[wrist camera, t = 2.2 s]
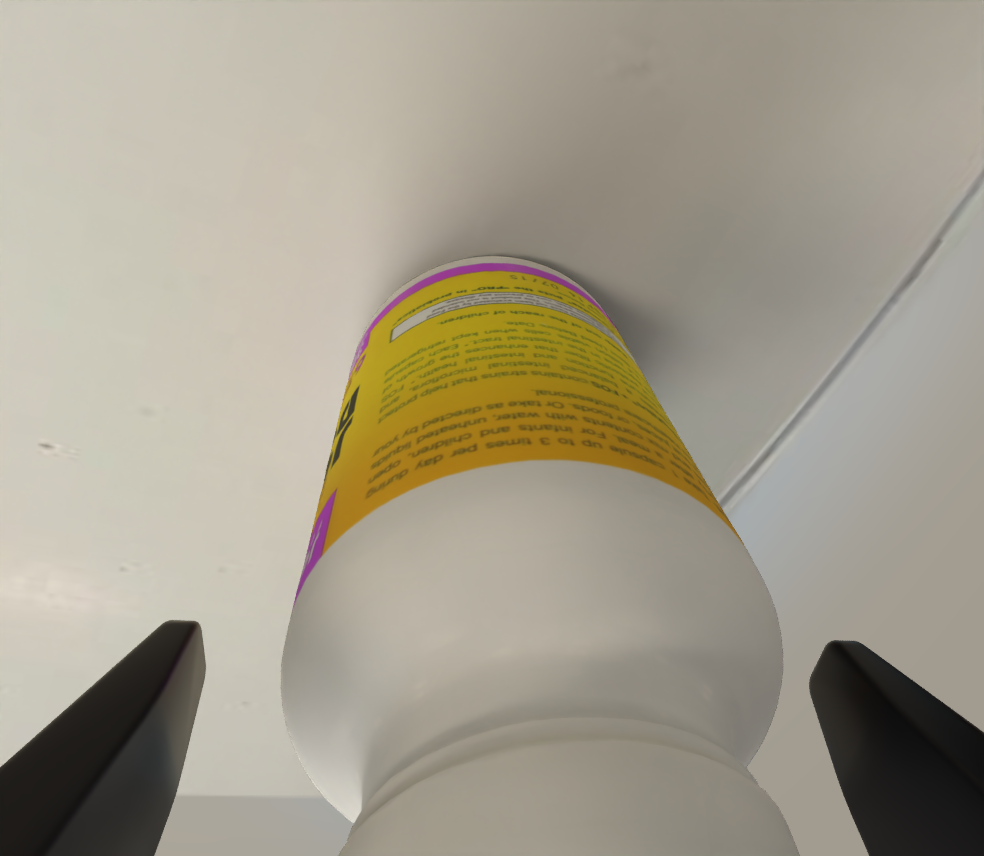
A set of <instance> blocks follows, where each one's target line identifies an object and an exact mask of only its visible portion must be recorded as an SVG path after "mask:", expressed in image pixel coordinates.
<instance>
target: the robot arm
mask: <svg viewBox="0 0 984 856" xmlns="http://www.w3.org/2000/svg"><path fill="white" fill-rule="evenodd" d="M205 671H206V662H205V654H204V646H203V638H202V630H201V626H200V624H199V623H198V622H196V621H182V620H169V621H167V622H165V623H163V624H162V625H161V626H159V627H158V628H157V629H156V630H155V631H154V632H153V633H151V634H150V635H149V636H148V637H147V638H146V639H145V640H144V641H142V642H141V643H140V644H139V645H138V646H137V647H136V648H135V649H133V650H132V651H131V652H130V653H129V654H128V655H127V656H126V657H124V658H123V659H122V660H121V661H120V662H119V663H118V664H116V665H115V666H114V667H113V668H112V669H111V670H110V671H109V672H107V673H106V674H105V675H104V676H103V677H102V678H101V679H100V680H98V681H97V682H96V683H95V684H94V685H93V686H92V687H90V688H89V689H88V690H87V691H86V692H85V693H84V694H83V695H81V696H80V697H79V698H78V699H77V700H76V701H75V702H74V703H72V704H71V705H70V706H69V707H68V708H67V709H66V710H65V711H63V712H62V713H61V714H60V715H59V716H58V717H57V718H55V719H54V720H53V721H52V722H51V723H50V724H49V725H48V726H46V727H45V728H44V729H43V730H42V731H41V732H40V733H39V734H37V735H36V736H35V737H34V738H33V739H32V740H31V741H30V742H28V743H27V744H26V745H25V746H24V747H23V748H22V749H20V750H19V751H18V752H17V753H16V754H15V755H14V756H13V757H11V758H10V759H9V760H8V761H7V762H6V763H5V764H4V765H2V766H1V767H0V856H154V855H155V852H156V849H157V846H158V844H159V841H160V838H161V836H162V833H163V830H164V827H165V825H166V822H167V819H168V816H169V814H170V811H171V808H172V804H173V802H174V799H175V796H176V792H177V788H178V785H179V781H180V777H181V773H182V769H183V765H184V761H185V757H186V753H187V749H188V745H189V741H190V737H191V733H192V728H193V724H194V720H195V716H196V712H197V708H198V704H199V700H200V696H201V692H202V688H203V684H204V679H205ZM809 689H810V694H811V698H812V701H813V704H814V707H815V710H816V713H817V716H818V719H819V723H820V726H821V729H822V732H823V735H824V738H825V741H826V744H827V747H828V750H829V753H830V756H831V760H832V763H833V765H834V769H835V772H836V775H837V778H838V781H839V784H840V786H841V789H842V792H843V795H844V797H845V800H846V802H847V805H848V807H849V810H850V812H851V815H852V817H853V819H854V822H855V824H856V826H857V828H858V831H859V833H860V835H861V838H862V840H863V842H864V844H865V847H866V849H867V852H868V854H869V856H984V732H982V731H981V730H979V729H978V728H977V727H976V726H974V725H973V724H972V723H970V722H969V721H967V720H966V719H965V718H963V717H962V716H960V715H959V714H958V713H956V712H955V711H954V710H952V709H951V708H950V707H948V706H947V705H945V704H944V703H943V702H941V701H940V700H938V699H937V698H936V697H934V696H933V695H932V694H930V693H929V692H928V691H926V690H925V689H923V688H922V687H921V686H919V685H918V684H917V683H915V682H914V681H913V680H911V679H910V678H908V677H907V676H906V675H904V674H903V673H902V672H900V671H899V670H897V669H896V668H895V667H893V666H892V665H890V664H889V663H888V662H886V661H885V660H884V659H882V658H881V657H879V656H878V655H877V654H875V653H874V652H873V651H871V650H870V649H868V648H867V647H866V646H864V645H863V644H861V643H859V642H856V641H838V640H834V641H831V642H829V643H828V644H827V645H826V646H825V648H824V650H823V652H822V654H821V656H820V658H819V660H818V662H817V665H816V667H815V668H814V671H813V672H812V674H811V677H810V682H809Z"/></svg>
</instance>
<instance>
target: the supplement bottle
mask: <svg viewBox="0 0 984 856" xmlns="http://www.w3.org/2000/svg"><path fill="white" fill-rule="evenodd" d="M782 675H783V649H782V639H781V632H780V627H779V622H778V617H777V613H776V610H775V607H774V604H773V601H772V599H771V596H770V594H769V591H768V589H767V587H766V585H765V583H764V580H763V578H762V576H761V574H760V573H759V571H758V569H757V567H756V566H755V564H754V562H753V560H752V558H751V556H750V555H749V553H748V551H747V549H746V548H745V546H744V544H743V542H742V540H741V539H740V537H739V535H738V534H737V532H736V531H735V529H734V527H733V526H732V524H731V523H730V521H729V519H728V518H727V516H726V515H725V513H724V511H723V510H722V508H721V507H720V505H719V503H718V502H717V500H716V498H715V497H714V495H713V493H712V492H711V490H710V488H709V486H708V485H707V483H706V481H705V480H704V478H703V476H702V475H701V473H700V471H699V469H698V468H697V466H696V464H695V463H694V461H693V459H692V457H691V456H690V454H689V452H688V451H687V449H686V447H685V446H684V444H683V442H682V441H681V439H680V437H679V436H678V434H677V432H676V430H675V428H674V427H673V425H672V423H671V422H670V420H669V418H668V417H667V415H666V413H665V412H664V410H663V408H662V406H661V405H660V403H659V401H658V399H657V398H656V396H655V394H654V393H653V391H652V389H651V387H650V386H649V384H648V382H647V380H646V379H645V377H644V375H643V374H642V372H641V370H640V369H639V367H638V365H637V363H636V362H635V360H634V358H633V356H632V354H631V353H630V351H629V349H628V348H627V346H626V344H625V343H624V341H623V339H622V338H621V336H620V334H619V332H618V331H617V329H616V327H615V326H614V324H613V323H612V322H611V320H610V319H609V317H608V316H607V314H606V313H605V312H604V310H603V309H602V308H601V306H600V305H599V304H598V303H597V301H596V300H595V299H594V298H593V297H592V296H591V295H590V294H589V293H588V292H587V291H586V290H585V289H583V288H582V287H581V286H580V285H578V284H577V283H576V282H574V281H573V280H571V279H570V278H568V277H567V276H565V275H563V274H561V273H559V272H557V271H555V270H553V269H551V268H549V267H546V266H544V265H541V264H538V263H534V262H531V261H528V260H523V259H518V258H513V257H503V256H482V257H473V258H466V259H462V260H457V261H453V262H450V263H447V264H443V265H440V266H438V267H436V268H433V269H431V270H429V271H427V272H425V273H423V274H421V275H419V276H417V277H416V278H414V279H412V280H410V281H409V282H408V283H406V284H405V285H403V286H402V287H401V288H399V289H398V290H397V291H396V292H395V293H394V294H393V295H392V296H391V297H390V298H389V299H388V300H387V301H386V302H385V303H384V304H383V305H382V306H381V307H380V308H379V309H378V311H377V312H376V313H375V315H374V316H373V317H372V319H371V321H370V322H369V324H368V326H367V327H366V329H365V331H364V333H363V335H362V337H361V339H360V342H359V344H358V347H357V350H356V353H355V357H354V360H353V363H352V366H351V370H350V375H349V379H348V383H347V386H346V390H345V394H344V399H343V403H342V407H341V411H340V415H339V419H338V423H337V428H336V432H335V436H334V441H333V445H332V450H331V453H330V457H329V461H328V465H327V469H326V474H325V479H324V484H323V488H322V492H321V495H320V499H319V504H318V508H317V512H316V516H315V521H314V525H313V529H312V533H311V538H310V542H309V546H308V550H307V554H306V558H305V562H304V566H303V570H302V574H301V578H300V582H299V585H298V589H297V593H296V597H295V601H294V606H293V610H292V614H291V618H290V622H289V626H288V631H287V636H286V640H285V645H284V651H283V657H282V664H281V696H282V706H283V712H284V717H285V722H286V726H287V729H288V732H289V735H290V738H291V741H292V744H293V747H294V750H295V752H296V754H297V756H298V758H299V760H300V762H301V764H302V766H303V768H304V769H305V771H306V773H307V775H308V776H309V778H310V780H311V781H312V782H313V783H314V785H315V786H316V787H317V789H318V790H319V791H320V792H321V794H322V795H323V796H324V797H325V799H326V800H327V801H328V802H329V803H331V804H332V805H333V806H334V807H335V808H336V809H337V810H338V811H339V812H340V813H341V814H342V815H344V816H345V817H346V818H347V819H348V820H349V821H351V822H352V823H353V824H354V825H353V826H352V828H351V831H350V834H349V837H348V841H347V843H346V844H345V846H344V847H343V849H342V850H341V852H340V854H339V856H800V855H799V852H798V850H797V847H796V845H795V842H794V840H793V837H792V835H791V832H790V830H789V827H788V825H787V823H786V821H785V819H784V817H783V815H782V813H781V811H780V809H779V807H778V806H777V805H776V804H775V802H774V801H773V800H772V799H771V798H770V796H769V795H768V794H767V793H766V791H764V790H763V789H762V788H761V787H760V786H759V785H758V783H757V781H756V780H755V779H754V777H753V776H752V775H751V773H750V772H749V771H748V770H747V766H748V765H749V763H750V762H751V760H752V759H753V757H754V755H755V754H756V752H757V751H758V749H759V747H760V745H761V744H762V742H763V740H764V738H765V736H766V734H767V732H768V729H769V727H770V725H771V722H772V719H773V716H774V714H775V711H776V708H777V703H778V699H779V694H780V689H781V683H782Z"/></svg>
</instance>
